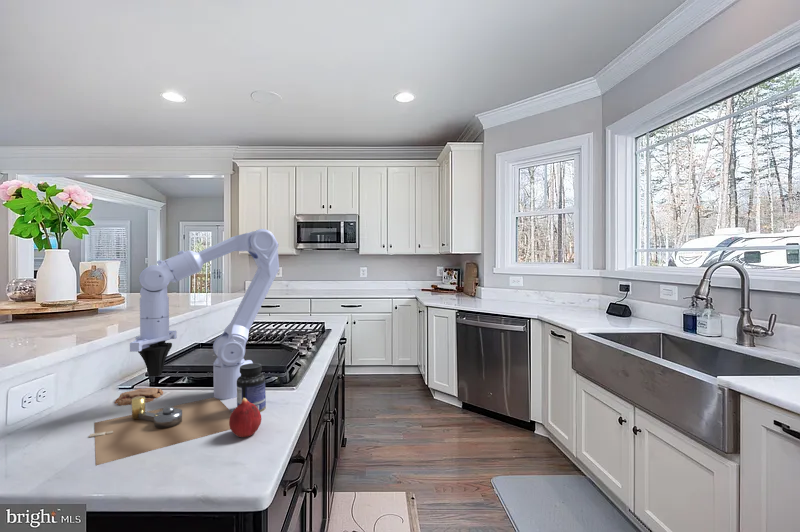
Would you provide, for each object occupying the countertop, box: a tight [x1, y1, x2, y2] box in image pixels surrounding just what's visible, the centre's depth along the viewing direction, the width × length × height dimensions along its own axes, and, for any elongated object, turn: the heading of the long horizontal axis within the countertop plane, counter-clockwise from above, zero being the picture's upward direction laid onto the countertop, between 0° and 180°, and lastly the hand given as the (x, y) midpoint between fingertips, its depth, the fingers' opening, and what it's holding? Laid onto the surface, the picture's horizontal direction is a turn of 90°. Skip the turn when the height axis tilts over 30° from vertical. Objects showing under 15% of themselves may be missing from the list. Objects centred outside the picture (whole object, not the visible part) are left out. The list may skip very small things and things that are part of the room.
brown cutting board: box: [88, 396, 233, 466], centre depth 80 cm, size 25×22×1 cm
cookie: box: [114, 387, 164, 407], centre depth 96 cm, size 10×11×3 cm
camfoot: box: [131, 396, 182, 428], centre depth 82 cm, size 13×5×4 cm, turn 69°
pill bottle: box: [236, 362, 267, 413], centre depth 88 cm, size 6×6×11 cm
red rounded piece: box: [229, 398, 262, 438], centre depth 75 cm, size 6×6×8 cm
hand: (155, 375), depth 90 cm, fingers closed
